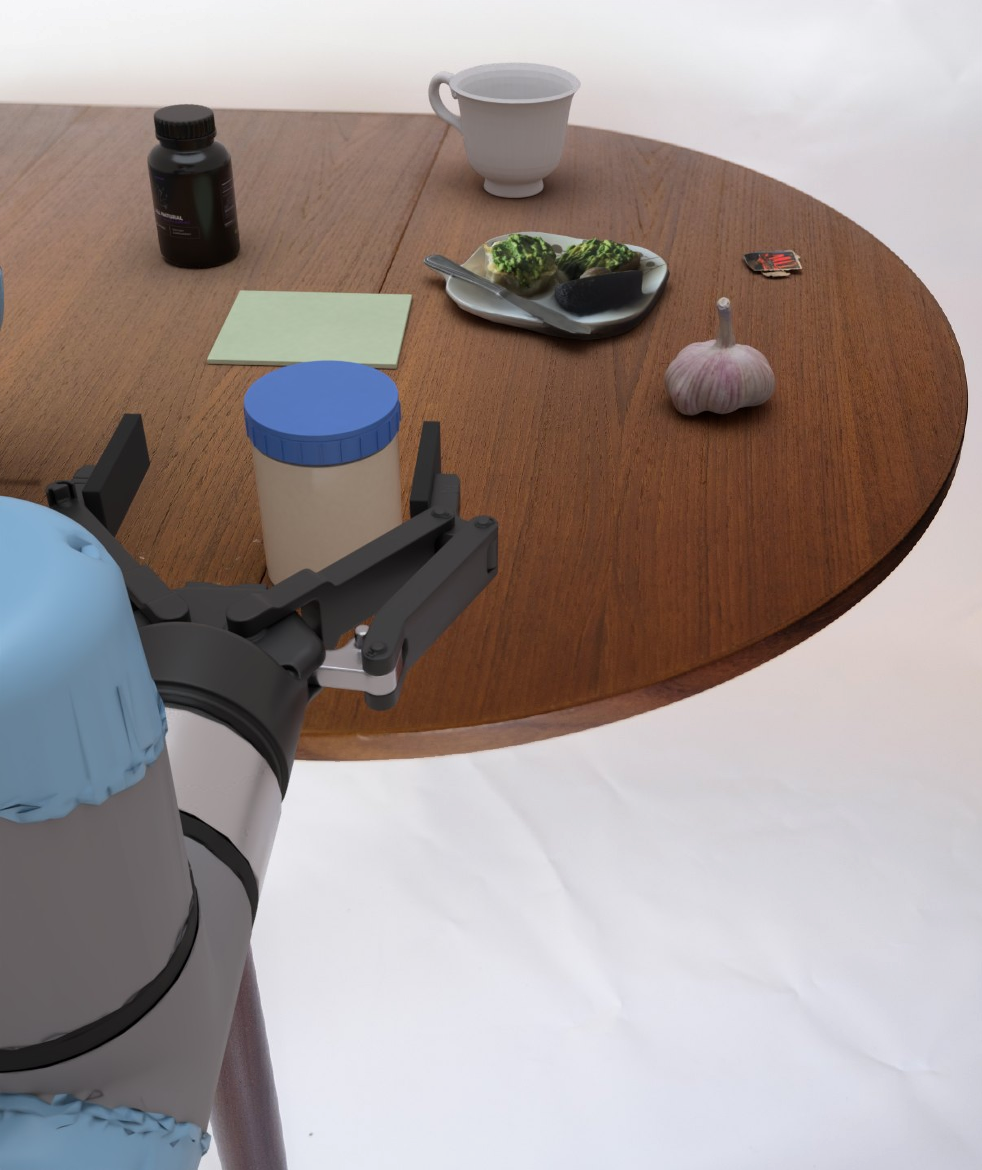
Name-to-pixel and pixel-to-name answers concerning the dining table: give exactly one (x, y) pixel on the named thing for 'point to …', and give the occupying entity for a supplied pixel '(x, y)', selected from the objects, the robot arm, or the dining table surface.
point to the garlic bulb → (719, 373)
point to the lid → (322, 412)
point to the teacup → (509, 121)
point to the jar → (325, 508)
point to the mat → (312, 328)
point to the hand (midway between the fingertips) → (284, 442)
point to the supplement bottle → (192, 188)
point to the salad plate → (556, 284)
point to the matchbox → (773, 261)
